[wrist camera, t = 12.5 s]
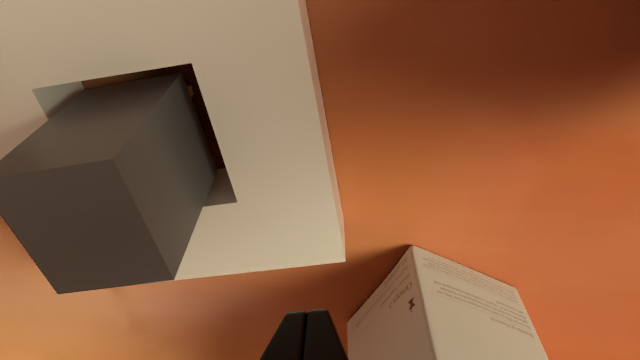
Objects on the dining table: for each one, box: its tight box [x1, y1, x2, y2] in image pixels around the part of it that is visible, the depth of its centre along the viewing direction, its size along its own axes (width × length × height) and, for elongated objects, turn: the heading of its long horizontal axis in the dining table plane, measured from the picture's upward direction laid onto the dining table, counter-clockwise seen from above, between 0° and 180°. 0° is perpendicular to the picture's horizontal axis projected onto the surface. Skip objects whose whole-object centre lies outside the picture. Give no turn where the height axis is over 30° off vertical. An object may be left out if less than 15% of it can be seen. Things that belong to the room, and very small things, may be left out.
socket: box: [0, 0, 346, 285], centre depth 18 cm, size 14×14×4 cm
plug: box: [0, 72, 217, 294], centre depth 16 cm, size 4×4×8 cm
